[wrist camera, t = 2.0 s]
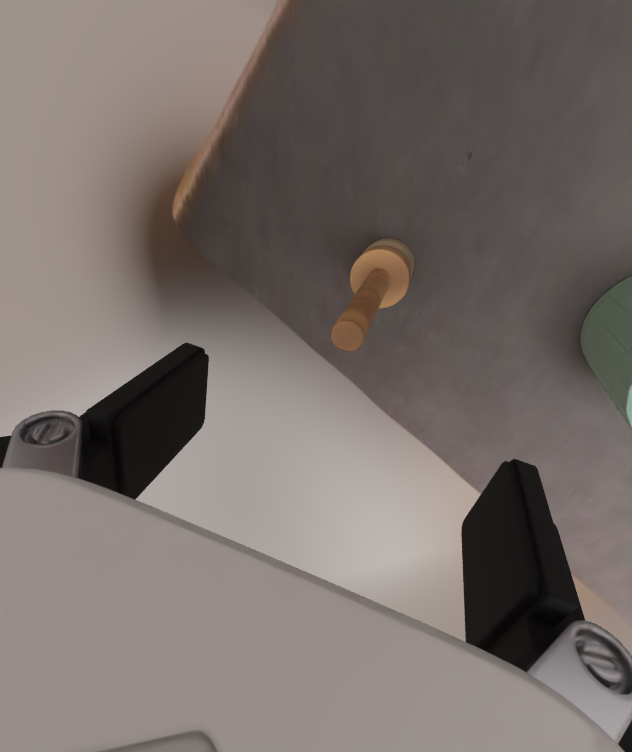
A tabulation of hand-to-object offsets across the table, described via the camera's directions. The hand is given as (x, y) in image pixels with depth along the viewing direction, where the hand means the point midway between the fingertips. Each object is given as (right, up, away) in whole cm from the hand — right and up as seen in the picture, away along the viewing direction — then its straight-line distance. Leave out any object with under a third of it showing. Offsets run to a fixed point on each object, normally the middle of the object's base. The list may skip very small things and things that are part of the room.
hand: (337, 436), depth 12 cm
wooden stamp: (+6, +12, +21) cm, 25 cm away
